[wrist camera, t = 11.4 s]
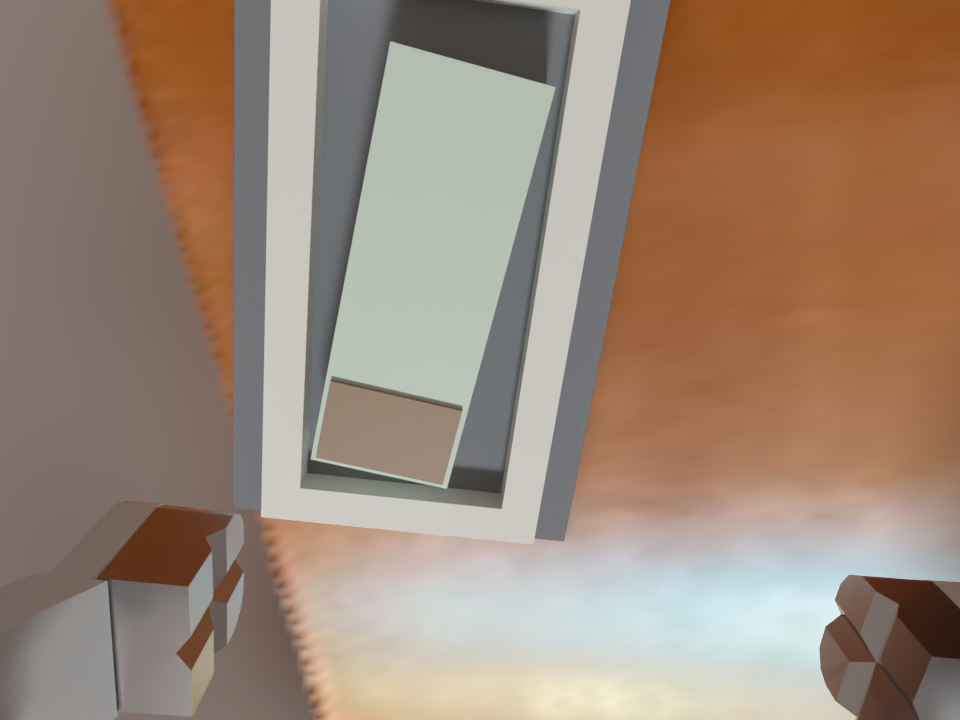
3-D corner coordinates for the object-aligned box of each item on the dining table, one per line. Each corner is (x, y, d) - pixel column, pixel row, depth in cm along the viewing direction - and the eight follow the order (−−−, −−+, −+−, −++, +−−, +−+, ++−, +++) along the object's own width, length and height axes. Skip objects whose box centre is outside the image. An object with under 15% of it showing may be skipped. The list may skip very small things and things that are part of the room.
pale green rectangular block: (545, 90, 23) (556, 87, 20) (449, 450, 28) (446, 491, 25) (400, 50, 22) (389, 40, 20) (327, 423, 27) (309, 461, 24)
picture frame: (562, 534, 30) (567, 558, 28) (236, 501, 29) (223, 523, 27) (674, -38, 22) (689, -50, 21) (239, -102, 21) (221, -120, 20)
